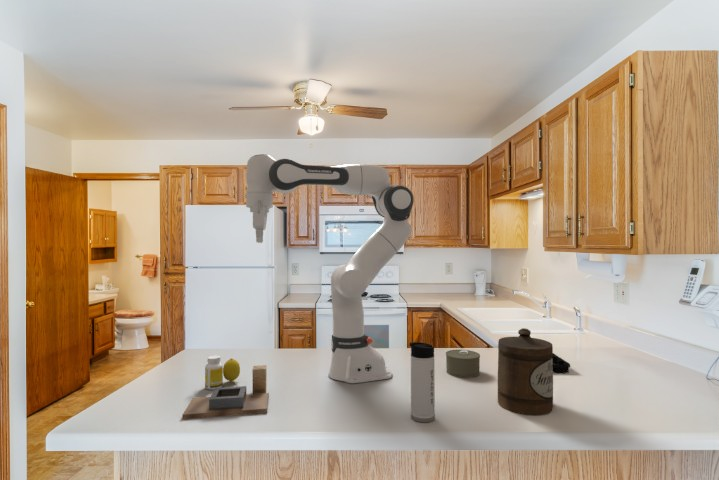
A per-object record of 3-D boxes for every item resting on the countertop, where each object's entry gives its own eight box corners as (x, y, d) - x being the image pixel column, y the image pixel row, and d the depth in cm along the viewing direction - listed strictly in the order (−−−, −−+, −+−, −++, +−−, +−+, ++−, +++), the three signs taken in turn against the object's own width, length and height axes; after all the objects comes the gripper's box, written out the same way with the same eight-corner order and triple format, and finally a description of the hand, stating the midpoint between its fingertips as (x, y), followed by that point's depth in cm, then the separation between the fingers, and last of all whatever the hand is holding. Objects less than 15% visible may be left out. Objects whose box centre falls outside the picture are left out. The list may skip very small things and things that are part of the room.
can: (443, 375, 144) (442, 356, 144) (448, 366, 155) (448, 348, 155) (478, 380, 140) (478, 359, 140) (481, 370, 151) (481, 351, 151)
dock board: (268, 396, 125) (268, 392, 125) (267, 412, 113) (267, 408, 113) (192, 402, 121) (192, 397, 121) (182, 419, 109) (182, 414, 109)
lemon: (234, 385, 135) (234, 361, 135) (219, 384, 136) (219, 360, 136) (242, 380, 140) (242, 356, 140) (228, 379, 141) (228, 355, 141)
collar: (246, 396, 122) (246, 386, 122) (243, 408, 113) (243, 397, 113) (214, 398, 120) (214, 388, 120) (209, 410, 111) (209, 399, 112)
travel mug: (407, 413, 112) (407, 340, 112) (431, 412, 113) (430, 339, 113) (412, 423, 106) (412, 346, 106) (437, 422, 106) (437, 345, 107)
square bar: (266, 390, 130) (266, 365, 130) (265, 394, 126) (265, 368, 126) (253, 391, 130) (253, 365, 130) (252, 395, 126) (252, 369, 126)
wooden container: (549, 420, 108) (548, 336, 108) (492, 408, 115) (491, 330, 116) (556, 401, 120) (555, 326, 120) (504, 392, 128) (503, 321, 128)
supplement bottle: (226, 385, 135) (226, 355, 135) (215, 391, 130) (215, 360, 130) (212, 383, 137) (212, 354, 137) (201, 389, 132) (201, 358, 132)
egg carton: (537, 352, 177) (537, 343, 177) (585, 373, 147) (585, 363, 147) (499, 353, 174) (499, 345, 174) (540, 376, 144) (540, 365, 144)
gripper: (268, 199, 130) (268, 242, 130) (269, 205, 151) (269, 242, 150) (248, 198, 129) (248, 242, 129) (251, 204, 149) (251, 242, 149)
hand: (259, 242), depth 140 cm, fingers open, 8 cm apart
